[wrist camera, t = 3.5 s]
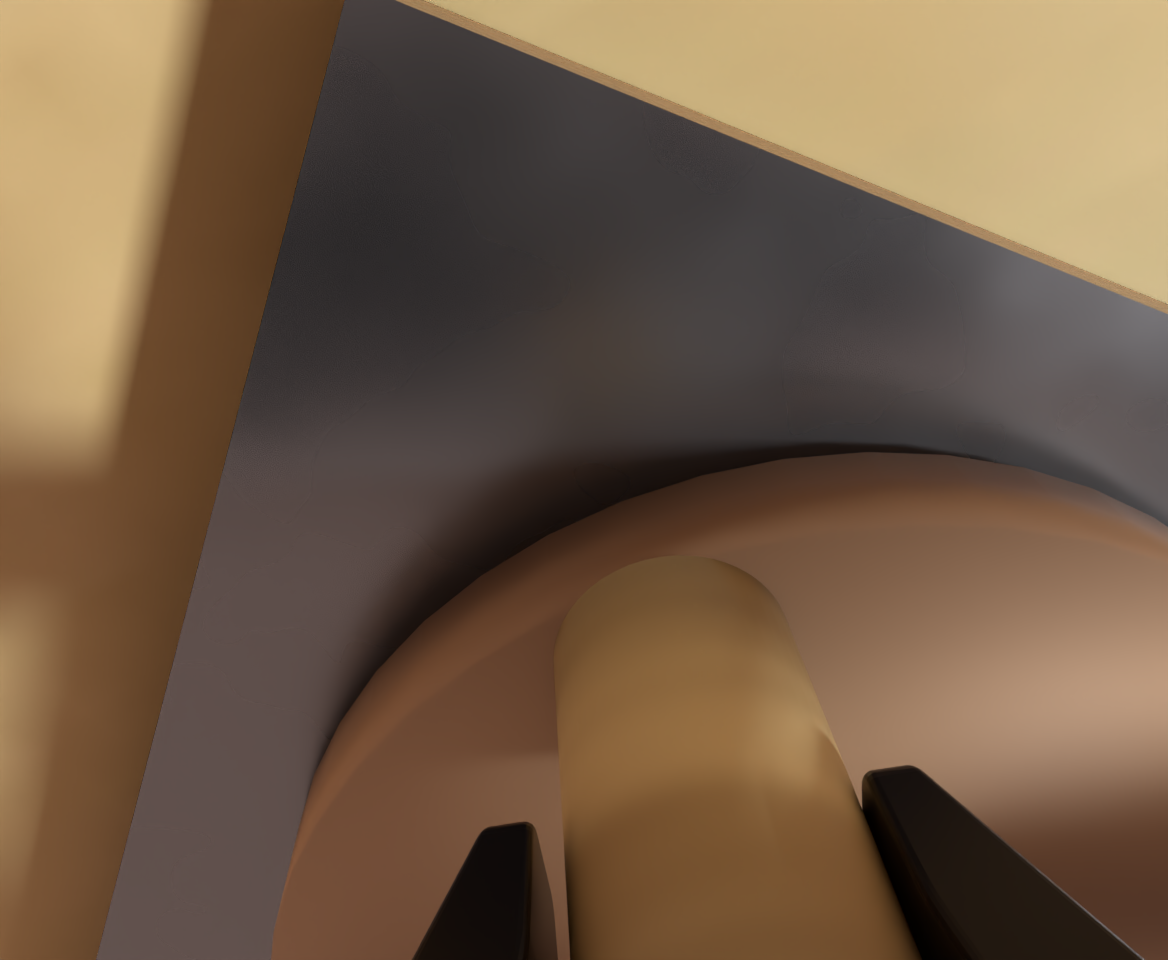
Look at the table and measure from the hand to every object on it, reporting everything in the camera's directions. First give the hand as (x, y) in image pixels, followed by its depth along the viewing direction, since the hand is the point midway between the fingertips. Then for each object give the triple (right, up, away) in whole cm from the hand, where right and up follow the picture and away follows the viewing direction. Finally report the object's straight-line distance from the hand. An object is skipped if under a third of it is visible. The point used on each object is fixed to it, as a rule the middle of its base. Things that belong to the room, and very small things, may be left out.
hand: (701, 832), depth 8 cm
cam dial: (+2, -3, +6) cm, 7 cm away
